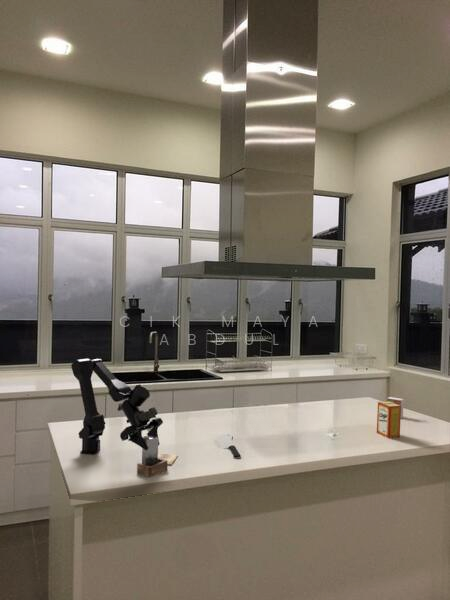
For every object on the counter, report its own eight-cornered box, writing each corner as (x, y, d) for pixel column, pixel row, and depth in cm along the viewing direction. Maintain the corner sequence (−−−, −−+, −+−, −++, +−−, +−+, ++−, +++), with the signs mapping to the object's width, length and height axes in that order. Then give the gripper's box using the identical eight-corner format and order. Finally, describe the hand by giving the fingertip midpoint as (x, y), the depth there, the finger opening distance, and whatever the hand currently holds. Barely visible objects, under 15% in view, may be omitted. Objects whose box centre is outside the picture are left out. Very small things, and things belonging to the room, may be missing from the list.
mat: (142, 463, 195) (142, 461, 195) (149, 453, 206) (149, 452, 206) (171, 465, 194) (171, 464, 194) (177, 456, 205) (177, 454, 205)
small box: (386, 416, 281) (386, 398, 280) (388, 414, 285) (389, 396, 285) (400, 418, 276) (401, 400, 276) (403, 416, 281) (403, 398, 280)
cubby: (137, 472, 185) (137, 463, 185) (154, 465, 193) (154, 456, 193) (150, 477, 182) (150, 467, 181) (167, 469, 189) (167, 460, 189)
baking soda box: (399, 437, 241) (401, 405, 241) (388, 438, 239) (389, 405, 239) (387, 431, 250) (389, 400, 250) (376, 432, 248) (378, 401, 248)
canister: (139, 465, 186) (140, 439, 185) (144, 460, 191) (145, 434, 191) (155, 467, 185) (156, 441, 184) (159, 461, 191) (160, 436, 190)
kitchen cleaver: (210, 434, 234) (231, 431, 235) (211, 438, 234) (231, 435, 235) (220, 457, 203) (244, 454, 205) (220, 461, 203) (244, 458, 205)
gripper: (126, 406, 182) (147, 441, 176) (160, 397, 197) (180, 430, 191) (111, 422, 187) (131, 458, 181) (145, 413, 202) (164, 445, 196)
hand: (152, 447), depth 187 cm, fingers closed on canister, 6 cm apart
